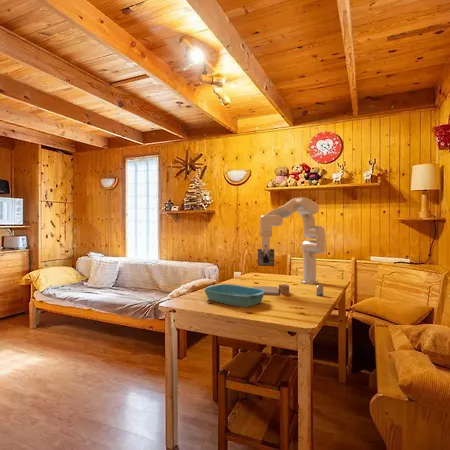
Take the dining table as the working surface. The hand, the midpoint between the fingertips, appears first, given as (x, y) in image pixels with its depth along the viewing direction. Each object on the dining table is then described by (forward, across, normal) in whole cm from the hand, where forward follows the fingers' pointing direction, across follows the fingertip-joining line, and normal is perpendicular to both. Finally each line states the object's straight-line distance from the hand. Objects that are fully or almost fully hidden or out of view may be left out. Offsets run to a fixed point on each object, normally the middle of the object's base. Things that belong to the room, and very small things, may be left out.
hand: (265, 261), depth 202 cm
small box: (+2, 0, 0) cm, 2 cm away
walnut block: (+19, +2, +11) cm, 23 cm away
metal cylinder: (+19, +6, +33) cm, 39 cm away
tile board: (+19, 0, 0) cm, 19 cm away
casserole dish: (+20, +27, -18) cm, 38 cm away
